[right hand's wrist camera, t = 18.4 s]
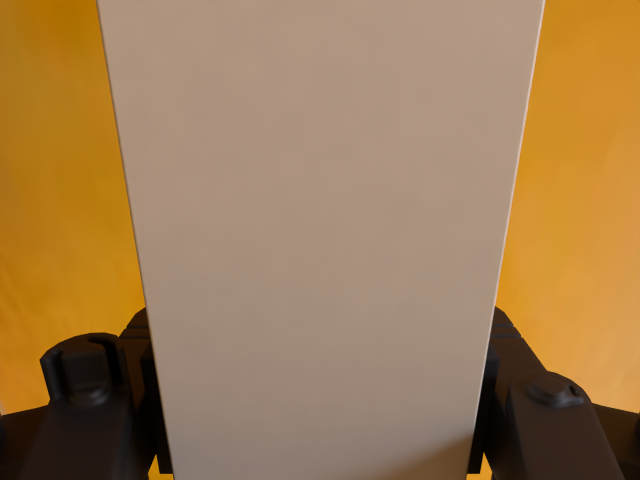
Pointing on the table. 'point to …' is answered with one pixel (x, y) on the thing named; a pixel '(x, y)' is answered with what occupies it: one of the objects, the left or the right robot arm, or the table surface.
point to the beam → (320, 223)
